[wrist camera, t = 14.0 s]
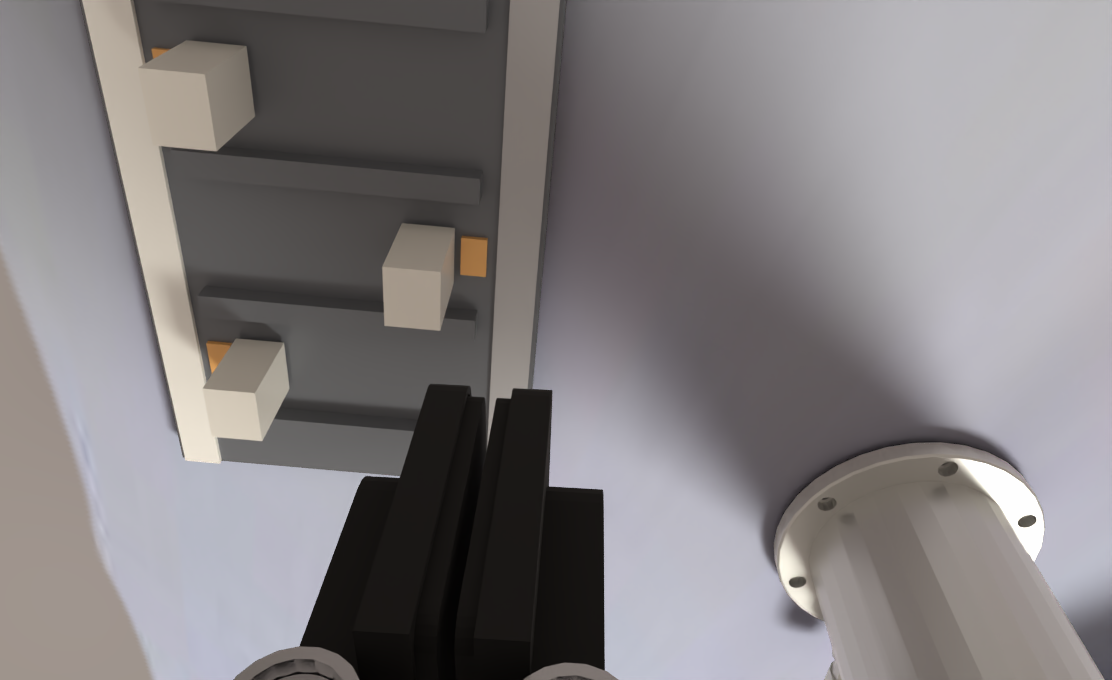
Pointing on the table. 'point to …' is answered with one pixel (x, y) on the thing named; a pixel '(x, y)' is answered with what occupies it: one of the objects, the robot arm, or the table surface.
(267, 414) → the tab
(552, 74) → the switch board
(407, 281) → the tab
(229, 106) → the tab
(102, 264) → the table surface
